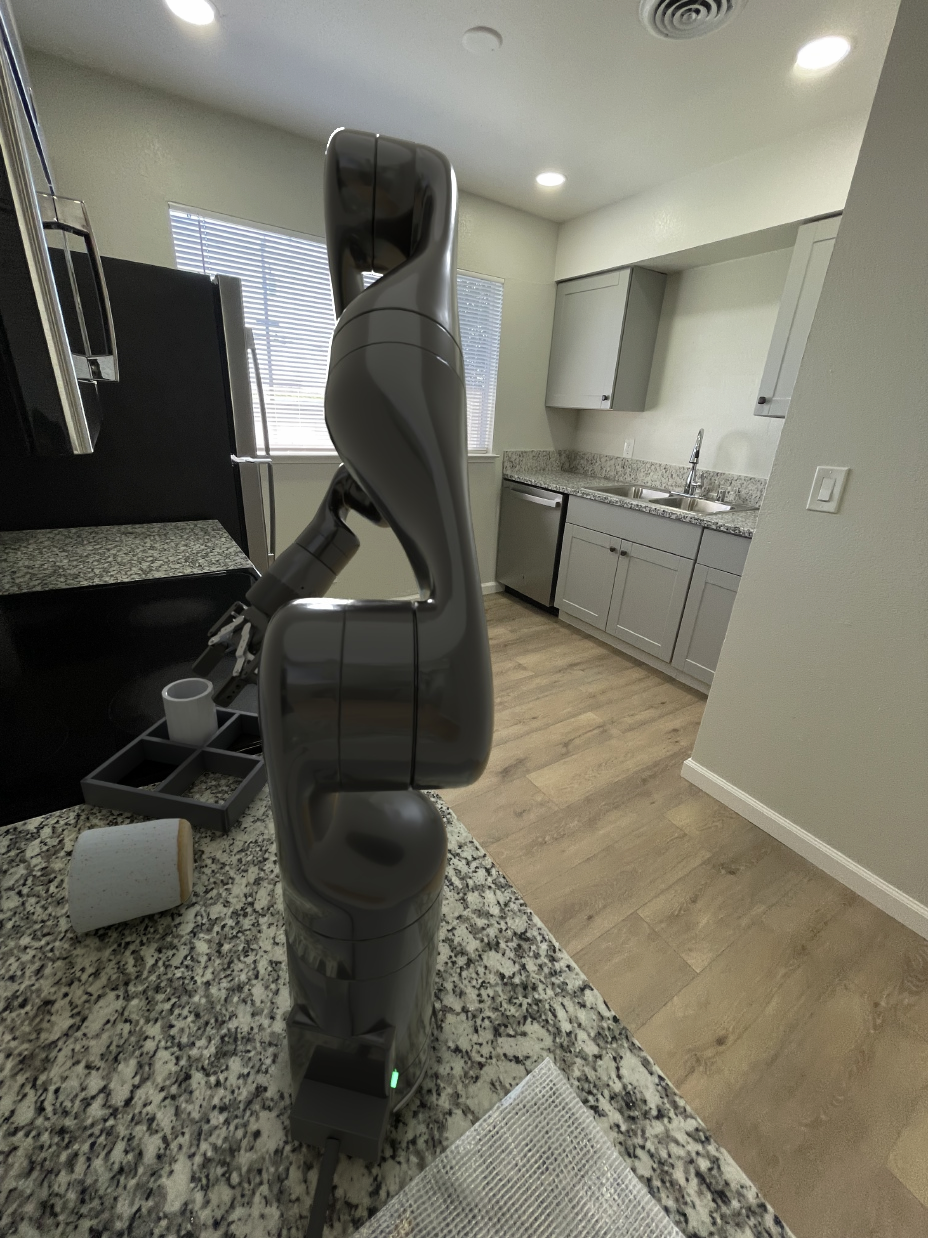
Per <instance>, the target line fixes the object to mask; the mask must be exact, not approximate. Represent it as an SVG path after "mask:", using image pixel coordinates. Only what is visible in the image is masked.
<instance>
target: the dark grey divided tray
mask: <svg viewBox="0 0 928 1238" xmlns="http://www.w3.org/2000/svg"><path fill="white" fill-rule="evenodd" d="M215 707H216V715H217V723H218V731H217V732H216V733H215V734H214V735H212V736H211V737H210V738H209V739H208V740H207V741H206V742H205V743H204V744H203V745H202V746H198V745H192V744H187V743H181V742H176V741H170V740H169V735H168V729H167V723H166V717H165V716H163V717H162V718H161V719H159V720H158V721H156V723H154V724H152V726H150V727H149V728H147V729H146V730H145V731H144V732H142V733H141V734H140V735H139V736H138V737H136V738H135V739H134V740H132V741H131V742H130V743H128V744H127V745H125V747H123V748H122V749H120V750H119V751H118V752H116V753H115V754H114V755H113V756H111V757H109V758H108V759H107V760H106V761H105V762H103V763H102V764H101V765H99V766H98V767H96V769H94V770H93V771H92V772H91V773H89V774H88V775H87V776H85V777H83V778H82V779H81V780H80V781H79V783H80V787H81V790H82V794H83V799H84V802H85V804H86V805H90V806H96V807H99V808H106V809H110V810H114V811H120V812H124V813H131V814H134V815H138V816H139V815H140V816H144V817H150V818H154V819H157V820H160V819H185V820H187V821H188V822H189V823H190V825H191V826H192V827H193V826H194V827H199V828H203V829H208V830H212V831H218V832H223V833H228V832H229V831H230V830H231V829H232V828H233V826H234V825H235V824H236V823H237V821H238V820H239V818H240V817H241V816H242V815H243V813H245V811H246V810H247V809H248V807H249V806H250V805H251V803H252V802H253V801H254V800H255V798H256V797H257V795H258V794H259V793H260V792H261V791H262V789H263V788H264V787H265V786H266V784H267V778H266V772H265V766H264V760H263V756H257V755H251V754H246V753H241V752H235V751H230V750H227V749H228V748H229V747H230V746H231V745H232V744H233V743H234V742H235V741H236V740H237V739H238V738H239V737H240V736H241V735H242V734H246V735H247V734H248V735H253V736H259V737H260V730H259V721H258V713H254V712H247V711H242V710H236V709H231V708H224V707H220V706H219V707H218V706H215ZM145 760H146V761H152V762H157V763H162V764H163V763H164V764H168V765H173V766H178V767H177V768H176V769H174V771H172V772H171V773H170V774H169V775H168V776H167V777H166V778H165V779H164V780H163V781H162V782H161V783H159V785H157V786H156V787H155V788H154V789H153V790H148V789H143V788H138V787H133V786H128V785H122V784H117V783H119V782H120V781H121V780H122V779H124V778H125V777H126V776H127V775H129V773H131V772H132V771H133V770H134V769H135V768H136V767H138V766H139V765H141V764H142V763H143V762H144V761H145ZM205 771H206V772H209V773H210V772H211V773H216V774H221V775H226V776H233V777H236V778H243V780H242V781H241V783H240V784H239V785H238V786H237V787H236V788H235V790H233V792H232V793H231V794H230V796H229V797H228V798H227V799H226V800H225V801H224V802H223V804H219V803H214V802H209V801H204V800H198V799H194V798H190V797H185V796H184V797H183V796H181V795H183V794H184V792H186V791H187V790H188V789H189V788H190V786H191V785H193V784H194V783H195V781H197V779H198V778H199V777H200V776H201V775H202V774H203V773H204V772H205Z"/></svg>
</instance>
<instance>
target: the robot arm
mask: <svg viewBox="0 0 928 1238" xmlns="http://www.w3.org/2000/svg"><path fill="white" fill-rule="evenodd" d="M323 163H324V165H323V177H322V179H323V180H322V207H323V208H322V210H323V211H322V212H323V227H324V235H325V236H324V239H325V247H326V256H327V265H328V273H329V281H330V282H329V283H330V290H331V297H332V298H331V299H332V307H333V314H334V321H335V326H334V328H333V331H332V334H331V338H330V341H329V347H328V354H327V366H326V367H327V368H326V378H325V385H324V386H325V388H324V396H323V419H324V423H325V427H326V431H327V434H328V436H329V440H330V442H331V443H332V446H333V448H334V449H335V452H336V454H337V455H338V457H339V459H340V460H341V462H342V463H341V464H340V465H339V466H338V467H337V469H336V471H335V473H334V474H333V476H332V478H331V480H330V483H329V485H328V487H327V490H326V492H325V495H324V497H323V498H322V501H321V502H320V505H319V506H318V508H317V511H316V513H315V514H314V516H313V518H312V519H311V521H310V522H309V523H308V525H306V526H305V528H304V529H303V530H302V532H301V533H300V534H298V536H297V537H296V539H295V540H294V541H293V542H292V543H291V544H290V545H289V546H287V548H285V549H284V550H283V551H282V552H281V553H280V554H279V555H278V556H277V557H276V558H275V559H274V561H273V562H272V563H271V564H270V566H269V567H268V568H267V569H266V570H265V571H264V572H263V574H262V575H261V576H260V577H259V578H258V579H257V580H256V581H255V582H254V584H253V585H252V586H251V587H250V588H249V590H247V592H246V593H245V600H246V601H247V602H248V603H250V605H249V606H246V604H244V603H241V601H239V600H237V601H235V602H234V603H232V605H231V606H230V607H229V609H228V610H227V611H226V612H225V613H223V615H222V616H221V617H220V618H219V620H217V622H216V623H215V624H214V625H213V626H212V627H211V628H210V629H209V630H208V633H207V636H208V638H210V639H209V640H208V643H207V645H208V646H207V648H206V649H205V650H204V651H203V652H202V653H201V655H200V656H199V657H198V658H197V659H196V660H195V661H194V663H193V664H192V665H191V667H190V670H191V671H192V672H193V673H194V674H196V675H197V676H199V677H202V678H206V677H208V676H209V675H210V674H211V673H212V671H213V670H214V669H215V668H216V666H218V665H219V663H220V662H221V661H222V660H223V658H225V655H226V654H227V653H229V652H231V651H233V650H235V649H236V652H235V658H236V663H235V666H234V668H233V671H232V673H229V675H228V676H227V677H226V678H225V680H223V682H222V683H221V684H220V686H219V687H218V688H217V689H216V690H215V692H214V694H213V695H212V697H211V699H212V701H213V702H214V703H215V705H217V706H219V707H220V708H225V709H227V708H229V707H230V705H231V704H232V703H233V702H234V701H235V700H236V698H238V696H239V695H240V694H241V692H243V691H244V689H245V688H246V687H247V686H248V685H254V686H256V708H257V714H258V721H259V730H260V736H259V738H260V747H261V752H262V757H263V760H264V766H265V772H266V778H267V783H266V784H267V789H268V794H269V800H270V801H269V802H270V809H271V814H272V823H273V830H274V840H275V850H276V851H275V852H276V859H277V866H278V870H279V871H278V872H279V875H280V885H281V892H282V904H283V918H284V919H283V920H284V936H285V948H286V950H285V951H286V963H287V973H288V974H287V976H288V992H289V1003H290V1004H289V1005H290V1011H289V1013H288V1015H287V1018H286V1022H285V1030H286V1042H287V1054H288V1056H287V1057H288V1067H289V1079H290V1091H291V1104H292V1107H291V1109H290V1111H289V1115H288V1119H289V1127H290V1128H289V1131H290V1139H291V1140H292V1141H296V1142H299V1143H303V1144H306V1145H308V1146H309V1145H310V1146H312V1147H313V1146H314V1147H317V1148H321V1149H323V1153H322V1157H321V1162H320V1168H319V1171H318V1176H317V1181H316V1186H315V1190H314V1193H313V1194H314V1195H313V1199H312V1203H311V1208H310V1212H309V1218H308V1223H307V1228H306V1234H305V1238H323V1236H324V1235H323V1234H324V1230H325V1224H326V1220H327V1213H328V1209H329V1203H330V1198H331V1194H332V1189H333V1183H334V1179H335V1174H336V1169H337V1164H338V1159H339V1154H342V1155H346V1156H349V1157H354V1158H356V1159H361V1160H364V1161H368V1162H371V1163H375V1164H379V1161H380V1159H381V1154H382V1149H383V1145H384V1141H385V1139H386V1138H387V1137H388V1135H389V1133H390V1128H391V1124H392V1121H393V1118H394V1117H395V1116H396V1115H398V1114H399V1113H400V1112H401V1111H402V1110H403V1109H404V1108H405V1107H406V1106H407V1105H408V1104H409V1103H410V1101H412V1099H413V1097H414V1096H415V1094H416V1093H417V1092H418V1090H419V1088H420V1086H421V1084H422V1082H423V1079H424V1077H425V1075H426V1072H427V1069H428V1066H429V1062H430V1056H431V1049H432V1048H431V1047H432V1023H433V1022H434V1026H435V1029H436V1031H438V1023H439V1017H438V1015H437V1009H436V1005H435V1001H434V1000H435V987H436V978H437V977H436V976H437V968H438V967H437V966H438V955H439V944H440V933H441V925H442V924H441V923H442V913H443V903H444V894H445V893H444V892H445V882H446V874H447V863H448V855H449V838H448V837H449V836H448V831H447V827H446V822H445V820H444V818H443V814H442V813H441V812H440V810H439V809H438V807H437V806H436V804H435V802H434V801H433V800H432V799H431V798H430V797H429V796H428V795H426V793H424V792H423V791H437V790H438V791H440V790H441V791H442V790H455V789H456V790H457V789H461V788H467V787H469V786H472V785H474V784H475V783H476V782H478V781H479V780H480V779H481V778H482V776H483V775H484V772H485V771H486V769H487V767H488V765H489V760H490V757H491V754H492V749H493V744H494V743H493V742H494V734H495V733H494V732H495V725H496V723H495V722H496V721H495V719H496V718H495V717H496V716H495V712H496V711H495V710H496V709H495V707H496V704H495V703H496V702H495V701H496V700H495V684H494V671H493V669H494V668H493V662H492V661H493V660H492V653H491V646H490V645H491V644H490V636H489V628H488V621H487V615H486V610H485V602H484V593H483V587H482V580H481V573H480V567H479V560H478V553H477V545H476V538H475V531H474V524H473V517H472V516H473V514H472V506H471V492H470V478H469V477H470V476H469V472H470V471H469V439H468V438H469V437H468V436H469V435H468V432H469V431H468V400H467V399H468V397H467V385H466V384H467V381H466V366H465V359H464V351H463V343H462V335H461V325H460V311H459V300H458V256H459V255H458V253H459V251H458V250H459V224H460V223H459V222H460V221H459V220H460V219H459V218H460V217H459V215H460V214H459V213H460V211H459V206H460V205H459V202H460V201H459V199H460V198H459V188H458V181H457V175H456V172H455V170H454V166H453V164H452V162H451V161H450V159H449V158H448V156H447V155H446V154H444V153H443V151H441V150H439V149H438V148H435V147H433V146H431V145H429V144H426V143H421V142H416V141H412V140H408V139H403V138H400V137H399V138H398V137H393V136H389V135H385V134H380V133H378V134H376V133H375V132H370V131H365V130H361V129H355V128H350V127H349V128H348V127H340V128H337V129H336V130H334V132H333V133H332V134H331V136H330V137H329V140H328V144H327V145H326V151H325V156H324V162H323ZM364 274H368V275H369V274H371V275H372V274H373V275H375V276H379V278H377V279H376V280H374V281H373V282H372V283H371V284H369V285H368V286H366V287H365V279H364ZM351 511H353V512H354V513H355V514H358V516H360V517H361V518H363V519H365V520H366V521H368V522H369V523H370V524H372V525H374V526H375V527H378V528H380V529H391V531H392V532H393V534H394V535H395V537H396V540H397V541H398V543H399V544H400V546H401V548H402V551H403V553H404V555H405V557H406V560H407V562H408V564H409V567H410V570H411V572H412V575H413V578H414V582H415V585H416V589H417V592H418V596H419V600H413V601H412V600H411V599H408V600H407V599H384V598H383V599H381V598H380V599H379V598H345V597H325V595H326V594H327V593H328V591H329V590H330V589H331V588H332V586H333V583H334V582H335V581H336V579H337V577H338V576H339V575H341V573H342V572H343V571H344V569H345V568H346V567H347V566H348V564H349V563H350V562H351V561H352V560H353V558H355V556H356V554H358V552H359V550H360V548H361V541H360V538H359V537H358V535H357V534H356V533H355V532H354V530H353V529H352V528H351V527H350V526H349V525H348V524H347V520H348V519H347V518H348V517H349V514H350V512H351ZM246 665H247V666H246ZM433 1020H434V1021H433Z"/></svg>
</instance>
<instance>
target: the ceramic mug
mask: <svg viewBox="0 0 928 1238" xmlns="http://www.w3.org/2000/svg"><path fill="white" fill-rule="evenodd" d="M193 843H194V842H193V830H192V825H190V823H189V822H188V821H187V820H185V819H155V820H148V821H143V822H137V823H130V824H129V823H128V824H121V825H115V826H114V825H113V826H106V827H99V828H91V829H87V830H83V831H82V832H81V833H80V834H79V836H78V837H77V838H76V842H75V843H74V846H73V850H72V854H71V858H70V862H69V867H68V875H67V904H68V905H67V906H68V908H67V909H68V914H69V919H70V924H71V927H72V928H73V930H74V931H75V932H76V933H78V934H79V933H80V934H81V933H86V932H87V933H88V932H90V931H93V930H96V929H97V930H98V929H100V928H104V927H108V926H111V925H116V924H118V923H123V922H126V921H130V920H132V919H136V918H140V917H144V916H147V915H152V914H157V913H160V912H163V911H167V910H170V909H173V908H175V907H177V906H180V905H181V904H184V903H185V902H186V901H187V900H188V899H189V898H190V897H191V895H192V892H193V886H194V884H193V883H194V844H193Z"/></svg>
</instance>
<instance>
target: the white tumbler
mask: <svg viewBox="0 0 928 1238" xmlns="http://www.w3.org/2000/svg"><path fill="white" fill-rule="evenodd" d="M214 693H215V692H214V685H213V683H212V682H211V681H210V680H208V679H206V678H200V677H189V678H183V679H179V680H176V681H173V682H171V683H169V684H167V685H166V686H165V687H164V688H163V689H162V691H161V698H162V705H163V710H164V717H166V723H167V729H168V735H169V740H170V741H176V742H181V743H187V744H192V745H198V746H202V745H203V744H204V743H205V742H206V741H207V740H208V739H209V738H210V737H211V736H212V735H214V734H215V733H216V732H217V731H218V730H219V729H218V723H217V715H216V707H217V706H216V704H215V703H214V702H213V701H212V699H211V697H212V695H213V694H214Z"/></svg>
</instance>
